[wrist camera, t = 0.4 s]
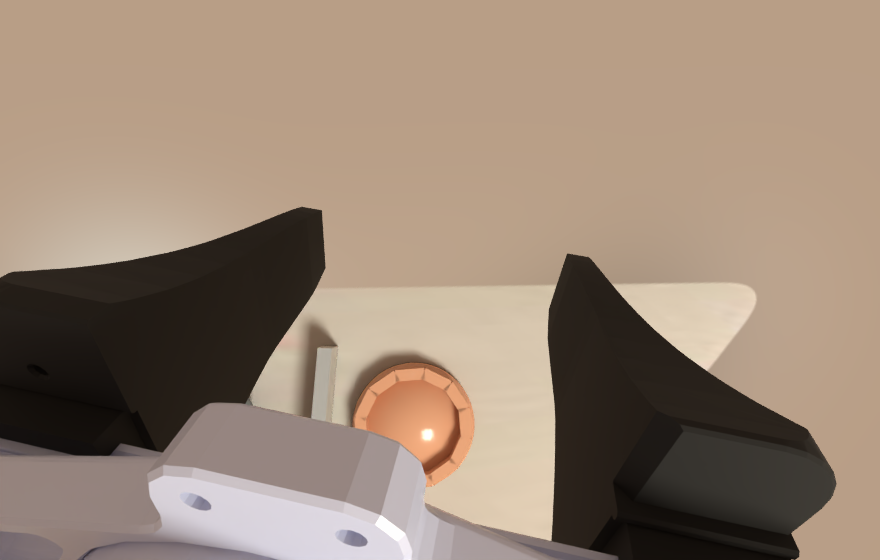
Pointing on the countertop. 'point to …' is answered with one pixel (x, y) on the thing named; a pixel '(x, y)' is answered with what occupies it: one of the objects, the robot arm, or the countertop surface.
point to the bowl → (420, 415)
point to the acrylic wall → (324, 383)
